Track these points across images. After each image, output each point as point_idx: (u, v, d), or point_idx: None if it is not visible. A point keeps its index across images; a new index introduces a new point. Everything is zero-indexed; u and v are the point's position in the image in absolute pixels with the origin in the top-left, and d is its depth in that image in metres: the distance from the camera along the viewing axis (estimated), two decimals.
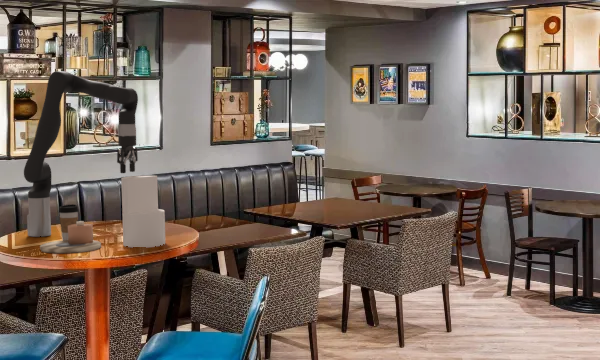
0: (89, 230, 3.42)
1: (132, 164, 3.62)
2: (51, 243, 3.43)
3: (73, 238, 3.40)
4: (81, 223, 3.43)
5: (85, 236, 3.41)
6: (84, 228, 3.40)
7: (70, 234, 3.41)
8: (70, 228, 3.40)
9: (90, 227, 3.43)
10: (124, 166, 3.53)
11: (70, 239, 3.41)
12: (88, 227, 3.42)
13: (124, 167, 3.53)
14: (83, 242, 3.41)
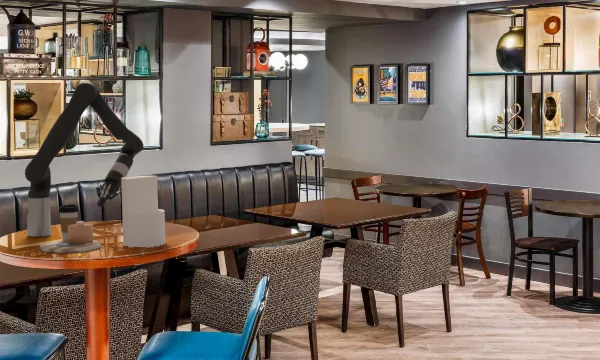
0: (89, 230, 3.42)
1: None
2: (51, 243, 3.43)
3: (73, 238, 3.40)
4: (81, 223, 3.43)
5: (85, 236, 3.41)
6: (84, 228, 3.40)
7: (70, 234, 3.41)
8: (70, 228, 3.40)
9: (90, 227, 3.43)
10: None
11: (70, 239, 3.41)
12: (88, 227, 3.42)
13: None
14: (83, 242, 3.41)
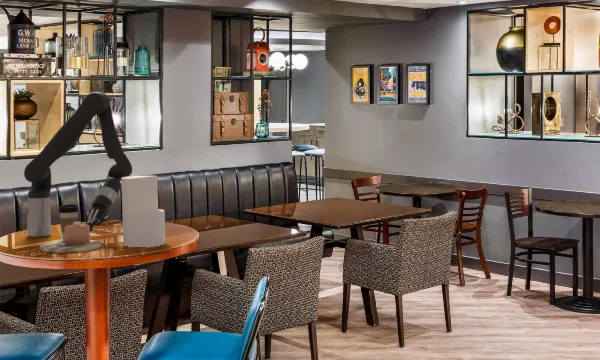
0: (86, 231, 3.40)
1: (90, 226, 3.50)
2: (51, 243, 3.43)
3: (69, 238, 3.39)
4: (78, 224, 3.41)
5: (81, 237, 3.39)
6: (80, 229, 3.39)
7: (67, 235, 3.39)
8: (67, 229, 3.39)
9: (87, 228, 3.41)
10: None
11: (67, 240, 3.39)
12: (85, 228, 3.40)
13: None
14: (79, 243, 3.39)
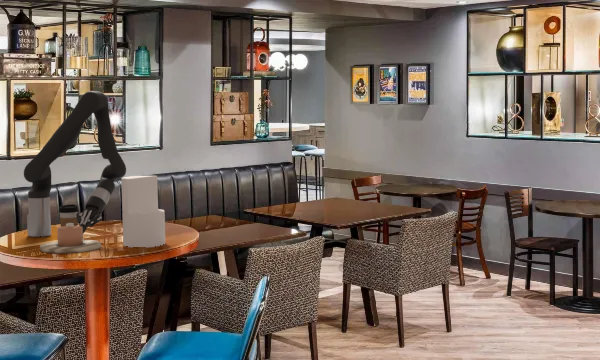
0: (79, 232, 3.36)
1: (83, 227, 3.46)
2: (51, 243, 3.43)
3: (62, 240, 3.35)
4: (71, 225, 3.38)
5: (74, 238, 3.35)
6: (73, 230, 3.35)
7: (59, 236, 3.35)
8: (59, 230, 3.35)
9: (80, 229, 3.37)
10: None
11: (59, 241, 3.36)
12: (78, 229, 3.36)
13: None
14: (72, 244, 3.35)
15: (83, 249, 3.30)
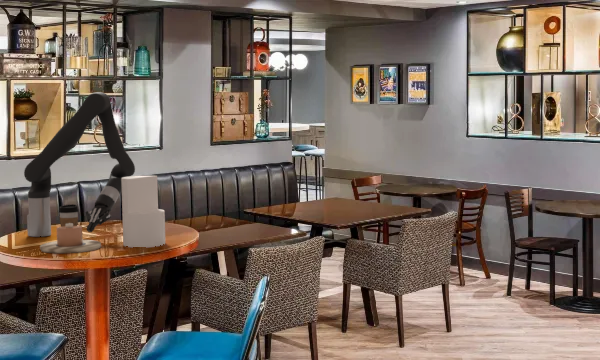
0: (78, 232, 3.36)
1: None
2: (51, 243, 3.43)
3: (61, 240, 3.34)
4: (70, 225, 3.37)
5: (73, 239, 3.35)
6: (73, 230, 3.34)
7: (59, 236, 3.35)
8: (59, 230, 3.35)
9: (79, 229, 3.37)
10: None
11: (59, 241, 3.35)
12: (77, 229, 3.36)
13: None
14: (72, 245, 3.35)
15: (83, 249, 3.30)
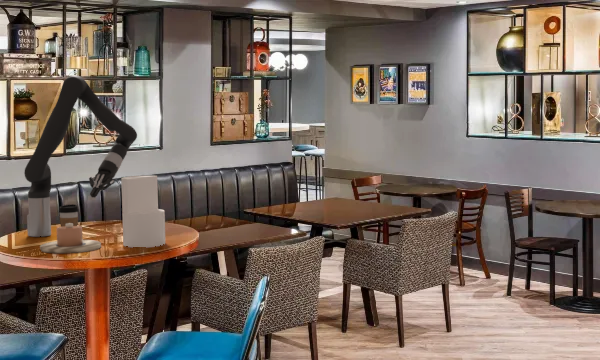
0: (78, 232, 3.36)
1: None
2: (51, 243, 3.43)
3: (61, 240, 3.34)
4: (70, 225, 3.37)
5: (73, 239, 3.35)
6: (73, 230, 3.34)
7: (59, 236, 3.35)
8: (59, 230, 3.35)
9: (79, 229, 3.37)
10: None
11: (59, 241, 3.35)
12: (77, 229, 3.36)
13: None
14: (72, 245, 3.35)
15: (83, 249, 3.30)
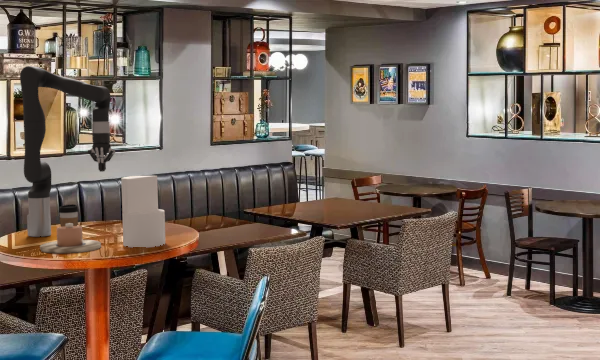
0: (78, 232, 3.36)
1: None
2: (51, 243, 3.43)
3: (61, 240, 3.34)
4: (70, 225, 3.37)
5: (73, 239, 3.35)
6: (73, 230, 3.34)
7: (59, 236, 3.35)
8: (59, 230, 3.35)
9: (79, 229, 3.37)
10: None
11: (59, 241, 3.35)
12: (77, 229, 3.36)
13: None
14: (72, 245, 3.35)
15: (83, 249, 3.30)
